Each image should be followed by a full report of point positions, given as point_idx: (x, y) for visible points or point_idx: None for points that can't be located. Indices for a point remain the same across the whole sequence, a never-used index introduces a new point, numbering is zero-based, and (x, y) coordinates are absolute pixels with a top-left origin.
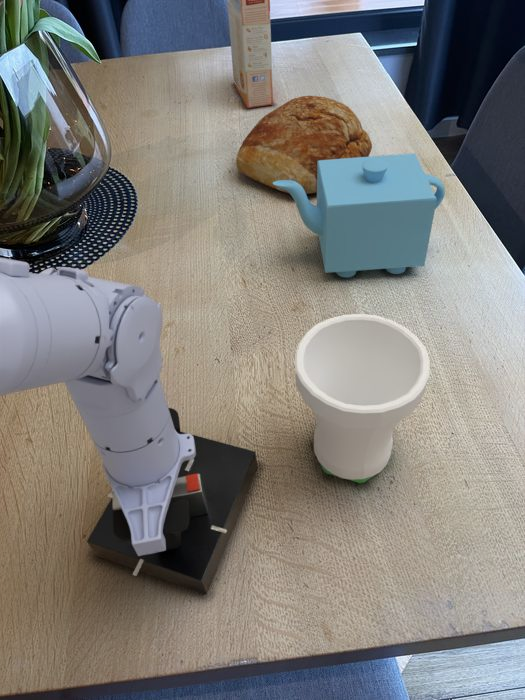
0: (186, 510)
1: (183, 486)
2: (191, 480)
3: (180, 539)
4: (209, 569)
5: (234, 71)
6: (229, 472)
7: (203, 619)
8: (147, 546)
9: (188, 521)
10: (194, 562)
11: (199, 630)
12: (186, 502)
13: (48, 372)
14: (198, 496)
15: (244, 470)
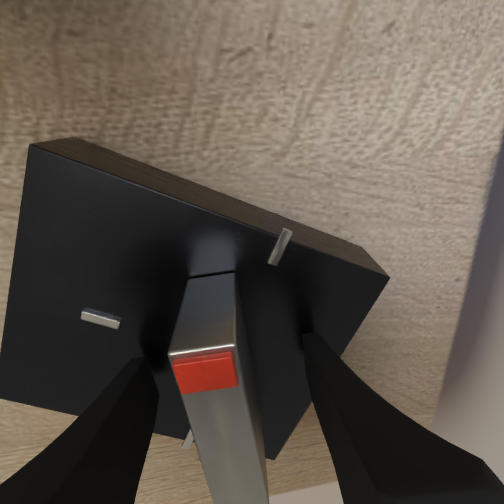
0: (444, 501)
1: (215, 391)
2: (198, 378)
3: (332, 350)
4: (353, 257)
5: None
6: (113, 222)
7: (403, 250)
8: None
9: (491, 485)
10: (347, 293)
11: (419, 256)
12: (403, 502)
13: None
14: (239, 339)
15: (103, 180)
